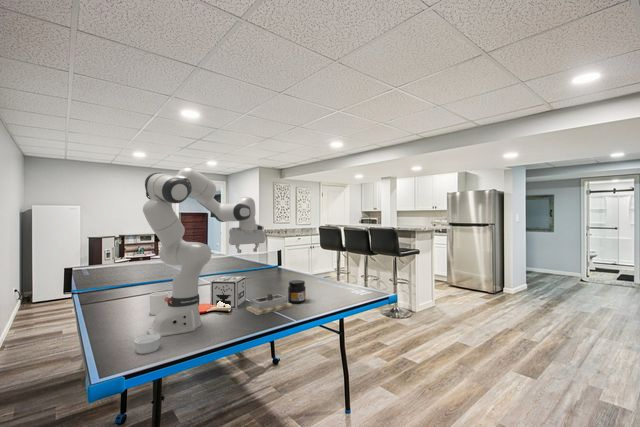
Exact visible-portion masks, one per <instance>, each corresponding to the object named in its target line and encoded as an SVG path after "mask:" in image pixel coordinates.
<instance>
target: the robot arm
mask: <svg viewBox="0 0 640 427" xmlns="http://www.w3.org/2000/svg"><path fill="white" fill-rule="evenodd" d="M144 188H145V196H146V198H147V199H148V200H147V201H146V202H145V204H143V207H142V213H143V214H144V218H145V219H146V221H147V223H148V225H149V226H150V228H151V229H152V231H153V232H154V234H155V235H156V236H157V238H158V239H159V242H160V244H161V247H160V249H159V254H158V256H159V258H160V259H159V260H160V261H161V262H162V263H165V264H168V265H172V266H181V268H180V272H179V273H178V274H177V275H176V276H174V277H173V279H172V282H171V284H172V290H171V292H172V293H171V296H170V297H169V296H168V297H166V298H165V299H164V300H165V301H166V302H168V306H167V307H165V308H164V309H163V310H162V311H161V312H159V313H158V314H157V315H154V319H153V323H152V324H153V325H151V326H149V327H148V328H147V335H150V334H158V335H160V336H161V338H162V337H166V336H167V337H168V336H173V335H179V334H185V333H191V332H194V331H195V330H196V329H198V328H199V327H201V326H202V325H203V322H202V320H201V315H200V314H201V313H200V309H199V308H200V294H199V281H200V280H199V279H200V275H201V272H202V270H203V268H204V267H205V265H207V264H208V263H209V262H210V261H211V258H212V249H211V247H210V246H209V245H208V244H205V243H203V242H199V241H186V240H184V239H183V236H184V235H185V230H186V228H185V226H184V225H183V223H182V221H181V220H180V218H179V217H178V216H177V215H178V214H176V212H175V211H174V209H173V204H180V203H183V202H184V201H185V200H187V198H188V197H189V196H191V198H194V199H195V200H196V201H197V202H198V203H199V204H200V205H201V206H202V207H204V208H205V209H207V211H209V212H210V213H211V214H212V215H213V217H214V218H215V220H216V221H218V222H220V223H225V222H238V226H237V227H231V228H230V229H229V231H228V234H229V238H228V244H229V245H230V246H235V248H236V250H237V254H241V253H242V249H240V245H250V244H253V245H254V248H253V249H252V251H253V253H254V252H255V253H256V252H258V248H259V247H260V244H264V243H265V240H266V236H265V231H264V229H265V228H264V225H260V224H258V223H256V218H255V217H256V202H255V200H254V198H252V197H249V196H248V197H246V196H242V197H240V199H239V200H237V201H236V202H231V203H222V202H219V201H217V199H215V196H216V193H217V186H216V184H215V183H214V182H213V181H212V180H211V179H210V178H208V177H207V176H206V175H204V174H203V173H201V172H199V170H196V169H193V168H191V167H183V168H181V169H180V170H178V172H177V173H176V174H175V175H172V174H168V173H164V172H154V173H151V174H149V175H148V176H147V177H146V178H145V180H144Z"/></svg>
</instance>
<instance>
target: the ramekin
mask: <svg viewBox="0 0 640 427" xmlns="http://www.w3.org/2000/svg"><path fill="white" fill-rule="evenodd" d="M161 338H162V337H161V336H160V335H158V334H150V335H149V334H146V335H142V336H139V337H137V338H135V339H134V340H133V342H134V346H135V347H134V348H135V352H136V354H140V355H141V354H142V355H143V354H144V355H145V354H149V353H154V352H155V351H157V350H158V349H159V348H160V345H161Z"/></svg>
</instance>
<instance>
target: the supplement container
mask: <svg viewBox="0 0 640 427" xmlns="http://www.w3.org/2000/svg"><path fill="white" fill-rule="evenodd" d="M305 285H306V282H305V280H302V279H293V280H289V281H288V287H287V302H288V303H291V304H294V305H296V304H297V305H299V304H303V303H305V302H306V301H307V300H306V298H307V297H306V294H307V293H306V289H307V287H306V286H305Z"/></svg>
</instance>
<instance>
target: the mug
mask: <svg viewBox="0 0 640 427" xmlns="http://www.w3.org/2000/svg"><path fill="white" fill-rule="evenodd" d="M166 297H169V296H168V292H167V291H157V292H153V293H150V294H149V314H150V315H151V316H156V315H157V314H158V313H159V312H161V311H162V310H163V309H164V308H165V307H167V306H168V302H166V301H165V300H164V299H165V298H166Z"/></svg>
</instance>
